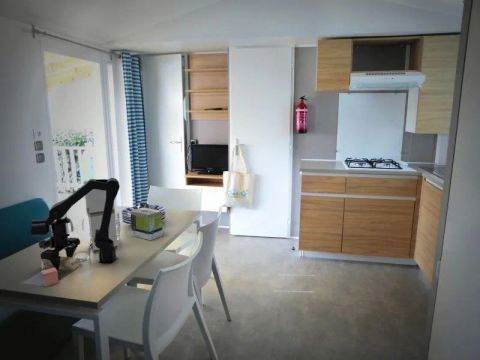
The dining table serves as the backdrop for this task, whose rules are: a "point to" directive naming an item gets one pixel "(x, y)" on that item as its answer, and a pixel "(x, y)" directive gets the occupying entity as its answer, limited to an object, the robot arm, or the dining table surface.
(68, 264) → the link
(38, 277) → the base plate
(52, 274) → the keeper
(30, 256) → the dining table surface
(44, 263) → the pintle
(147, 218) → the tea box
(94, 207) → the tall white box
